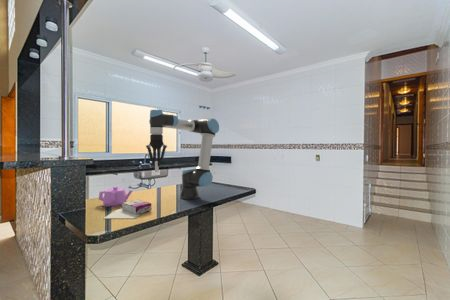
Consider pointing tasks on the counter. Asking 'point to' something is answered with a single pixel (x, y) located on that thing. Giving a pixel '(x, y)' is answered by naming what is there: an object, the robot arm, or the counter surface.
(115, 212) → the mat
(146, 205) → the candy bar box
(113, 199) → the teakettle
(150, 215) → the counter surface
